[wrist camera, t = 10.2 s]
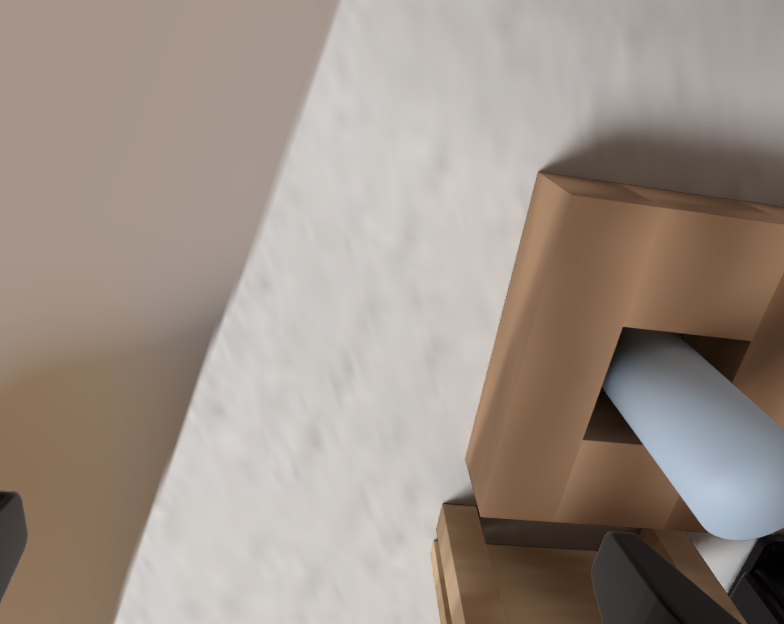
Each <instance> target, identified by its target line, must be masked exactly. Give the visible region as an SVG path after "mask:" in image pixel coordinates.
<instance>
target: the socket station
mask: <svg viewBox="0 0 784 624" xmlns="http://www.w3.org/2000/svg"><path fill="white" fill-rule="evenodd" d="M623 327H630V328H639V329H648V330H657V331H666V332H675V333H684V334H683V336H682V339H683V340H684V341H685V342H686V343H687V344H688V345H690V346H691V347H692V348H693V349H694V350H695V351H696V352H697V353H699V354H700V355H701V356H702V357H703V358H704V359H705V360H706V361H708V362H709V363H710V364H711V365H712V366H713V367H714V368H715V369H716V370H718V371H719V372H720V373H721V374H722V375H723V376H724V377H725V378H727V379H728V380H729V381H730V382H731V383H732V384H733V385H734V386H736V387H737V388H738V389H739V390H740V391H741V392H742V393H743V394H744V395H746V396H747V397H748V398H749V399H750V400H751V401H752V402H753V403H755V404H756V405H757V406H758V407H759V408H760V409H761V410H762V411H763V412H765V413H766V414H767V415H768V416H769V417H770V418H771V419H772V420H774V421H775V422H776V423H777V424H778V425H779V426H780V427H781V428H783V429H784V207H779V206H772V205H765V204H758V203H751V202H744V201H737V200H730V199H723V198H716V197H709V196H702V195H695V194H688V193H681V192H674V191H667V190H660V189H653V188H646V187H639V186H632V185H625V184H618V183H611V182H604V181H597V180H590V179H583V178H576V177H569V176H562V175H555V174H548V173H541V172H538V174H537V178H536V182H535V186H534V190H533V194H532V198H531V202H530V206H529V210H528V214H527V218H526V221H525V225H524V229H523V233H522V237H521V241H520V245H519V249H518V253H517V257H516V261H515V265H514V269H513V273H512V277H511V281H510V285H509V288H508V292H507V296H506V300H505V304H504V308H503V312H502V316H501V320H500V324H499V328H498V332H497V336H496V340H495V344H494V348H493V352H492V356H491V359H490V363H489V367H488V371H487V375H486V379H485V383H484V387H483V391H482V395H481V399H480V403H479V407H478V411H477V415H476V419H475V423H474V426H473V430H472V434H471V438H470V442H469V446H468V450H467V454H466V458H465V461H466V465H467V468H468V472H469V476H470V480H471V483H472V487H473V491H474V495H475V498H476V502H477V506H478V510H479V513H480V517H486V518H501V519H516V520H530V521H545V522H560V523H574V524H589V525H604V526H618V527H633V528H642V530H641V532H640V534H639V537H640V538H641V539H642V540H643V541H645V542H646V543H647V544H648V545H649V546H651V547H652V548H653V549H654V550H655V551H657V552H658V553H659V554H660V555H661V556H662V557H664V558H665V559H666V560H667V561H668V562H670V563H671V564H672V565H673V566H674V567H676V568H677V569H678V570H679V571H680V572H681V573H683V574H684V575H685V576H686V577H687V578H689V579H690V580H691V581H692V582H693V583H695V584H696V585H697V586H698V587H699V588H700V589H702V590H703V591H704V592H705V593H706V594H708V595H709V596H710V597H711V598H712V599H714V600H715V601H716V602H717V603H718V604H719V605H721V606H722V607H723V608H724V609H725V610H727V611H728V612H729V613H730V614H731V615H733V616H734V617H735V618H736V619H737V620H738V621H740V622H741V623H742V624H747V623H746V621H745V620H744V618H743V617H742V615H741V614H740V612H739V611H738V609H737V608H736V606H735V605H734V603H733V602H732V600H731V599H730V597H729V596H728V595H727V593H726V592H725V590H724V589H723V587H722V586H721V584H720V583H719V581H718V580H717V578H716V577H715V575H714V574H713V572H712V571H711V570H710V568H709V567H708V565H707V564H706V562H705V561H704V559H703V558H702V556H701V555H700V553H699V552H698V550H697V549H696V547H695V546H694V544H693V543H692V542H691V540H690V539H689V537H688V536H687V534H686V533H685V531H691V532H706V533H709V532H708V531H707V530H706V529H705V528H704V527H703V526H702V525H701V523H700V522H699V521H698V519H697V518H696V516H695V515H694V514H693V512H692V511H691V510H690V508H689V507H688V505H687V504H686V503H685V501H684V500H683V499H682V497H681V496H680V494H679V493H678V492H677V490H676V489H675V488H674V486H673V485H672V483H671V482H670V481H669V479H668V478H667V476H666V475H665V474H664V472H663V471H662V470H661V468H660V467H659V465H658V464H657V463H656V461H655V460H654V459H653V457H652V456H651V454H650V453H649V452H648V450H647V449H646V448H645V446H644V445H643V443H642V442H641V441H640V439H639V438H638V436H637V435H636V434H635V432H634V431H633V430H632V428H631V427H630V425H629V424H628V423H627V421H626V420H625V419H624V417H623V416H622V414H621V413H620V412H619V410H618V409H617V407H616V406H615V405H614V403H613V402H612V401H611V399H610V398H609V396H608V395H607V394H599V392H600V390H601V387H602V384H603V381H604V378H605V376H606V373H607V370H608V367H609V364H610V362H611V359H612V356H613V353H614V350H615V348H616V345H617V342H618V339H619V336H620V334H621V331H622V328H623ZM436 531H437V537H438V541H433V545H432V549H431V553H430V554H431V561H432V568H433V575H434V581H435V588H436V595H437V601H438V608H439V615H440V622H441V624H602V620H601V615H600V611H599V607H598V603H597V599H596V595H595V591H594V587H593V583H592V576H591V571H592V565H593V562H594V560H595V558H596V555H597V553H598V551H587V550H572V549H556V548H540V547H524V546H508V545H492V544H486V543H485V539H484V535H483V531H482V528H481V524H480V520H479V516H478V512H477V509H476V506H465V505H451V504H442V508H441V512H440V516H439V520H438V524H437V528H436Z"/></svg>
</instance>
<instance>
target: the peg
mask: <svg viewBox="0 0 784 624" xmlns="http://www.w3.org/2000/svg"><path fill="white" fill-rule="evenodd" d="M602 388H603V390H604V391H605V392H606V394H607V395H608V396H609V398H610V399H611V401H612V402H613V403H614V405H615V406H616V407H617V409H618V410H619V412H620V413H621V414H622V416H623V417H624V419H625V420H626V421H627V423H628V424H629V425H630V427H631V428H632V430H633V431H634V432H635V434H636V435H637V436H638V438H639V439H640V441H641V442H642V443H643V445H644V446H645V448H646V449H647V450H648V452H649V453H650V454H651V456H652V457H653V459H654V460H655V461H656V463H657V464H658V465H659V467H660V468H661V470H662V471H663V472H664V474H665V475H666V476H667V478H668V479H669V481H670V482H671V483H672V485H673V486H674V488H675V489H676V490H677V492H678V493H679V494H680V496H681V497H682V499H683V500H684V501H685V503H686V504H687V505H688V507H689V508H690V510H691V511H692V512H693V514H694V515H695V516H696V518H697V519H698V521H699V522H700V523H701V525H702V526H703V527H704V528H705V529H706V530H707V531H708V532H709V533H711V534H713V535H715V536H717V537H720V538H724V539H729V540H749V539H755V538H759V537H763V536H766V535H769V534H772V533H774V532H776V531H778V530H780V529H782V528H784V429H783V428H781V427H780V426H779V425H778V424H777V423H776V422H775V421H774V420H772V419H771V418H770V417H769V416H768V415H767V414H766V413H765V412H763V411H762V410H761V409H760V408H759V407H758V406H757V405H756V404H755V403H753V402H752V401H751V400H750V399H749V398H748V397H747V396H746V395H744V394H743V393H742V392H741V391H740V390H739V389H738V388H737V387H736V386H734V385H733V384H732V383H731V382H730V381H729V380H728V379H727V378H725V377H724V376H723V375H722V374H721V373H720V372H719V371H718V370H716V369H715V368H714V367H713V366H712V365H711V364H710V363H709V362H708V361H706V360H705V359H704V358H703V357H702V356H701V355H700V354H699V353H697V352H696V351H695V350H694V349H693V348H692V347H691V346H690V345H688V344H687V343H686V342H685V341H684V340H683V339H682V338H681V337H680V336H678V335H677V334H676V333H675V332H666V331H657V330H648V329H639V328H630V327H623V328H622V331H621V334H620V336H619V339H618V342H617V345H616V348H615V350H614V353H613V356H612V359H611V362H610V364H609V367H608V370H607V373H606V376H605V378H604V381H603V384H602Z"/></svg>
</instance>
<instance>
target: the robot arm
mask: <svg viewBox="0 0 784 624" xmlns="http://www.w3.org/2000/svg"><path fill="white" fill-rule="evenodd" d="M27 537H28V531H27V524H26V519H25V513H24V506H23V501H22V497H21V495H20V494H19V493H18V492H15V491H6V490H0V603H1V600H2V598H3V596H4V594H5V591H6V589H7V587H8V585H9V583H10V581H11V578H12V576H13V574H14V572H15V569H16V567H17V565H18V563H19V560H20V558H21V556H22V554H23V552H24V549H25V546H26V543H27ZM591 576H592V583H593V587H594V591H595V595H596V599H597V603H598V607H599V611H600V615H601V620H602V624H742V623H741V622H740V621H738V620H737V619H736V618H735V617H734V616H733V615H731V614H730V613H729V612H728V611H727V610H725V609H724V608H723V607H722V606H721V605H719V604H718V603H717V602H716V601H715V600H714V599H712V598H711V597H710V596H709V595H708V594H706V593H705V592H704V591H703V590H702V589H700V588H699V587H698V586H697V585H696V584H695V583H693V582H692V581H691V580H690V579H689V578H687V577H686V576H685V575H684V574H683V573H681V572H680V571H679V570H678V569H677V568H676V567H674V566H673V565H672V564H671V563H670V562H668V561H667V560H666V559H665V558H664V557H662V556H661V555H660V554H659V553H658V552H657V551H655V550H654V549H653V548H652V547H651V546H649V545H648V544H647V543H646V542H645V541H643V540H642V539H641V538H640V537H639V536H637V535H636V534H634V533H632V532H625V531H609V532H608V533H606V534H605V536H604V538H603V541H602V543H601V545H600V548H599V550H598V553H597V555H596V558H595V560H594V562H593V565H592V571H591ZM728 596H729V597H730V599H731V600H732V602H733V603H734V605H735V606H736V608H737V609H738V611H739V612H740V614H741V615H742V617H743V618H744V620H745V621H746V623H747V624H784V535H774V534H771V535H766V536H764V537H762V538H761V539H760V540H759V541H758V542H757V544H756V546H755V548H754V549H753V551H752V553H751V555H750V556H749V558H748V560H747V562H746V563H745V565H744V567H743V569H742V570H741V572H740V574H739V576H738V577H737V579H736V581H735V583H734V585H733V586H732V588H731V590H730V592H729V593H728Z"/></svg>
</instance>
